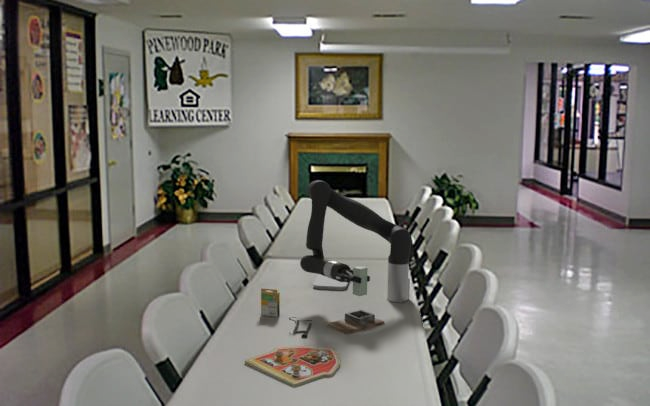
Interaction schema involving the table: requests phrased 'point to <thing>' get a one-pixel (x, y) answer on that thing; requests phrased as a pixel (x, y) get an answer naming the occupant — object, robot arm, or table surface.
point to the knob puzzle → (297, 364)
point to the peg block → (361, 287)
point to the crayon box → (270, 303)
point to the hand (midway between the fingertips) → (364, 279)
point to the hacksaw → (301, 331)
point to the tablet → (328, 283)
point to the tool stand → (355, 322)
